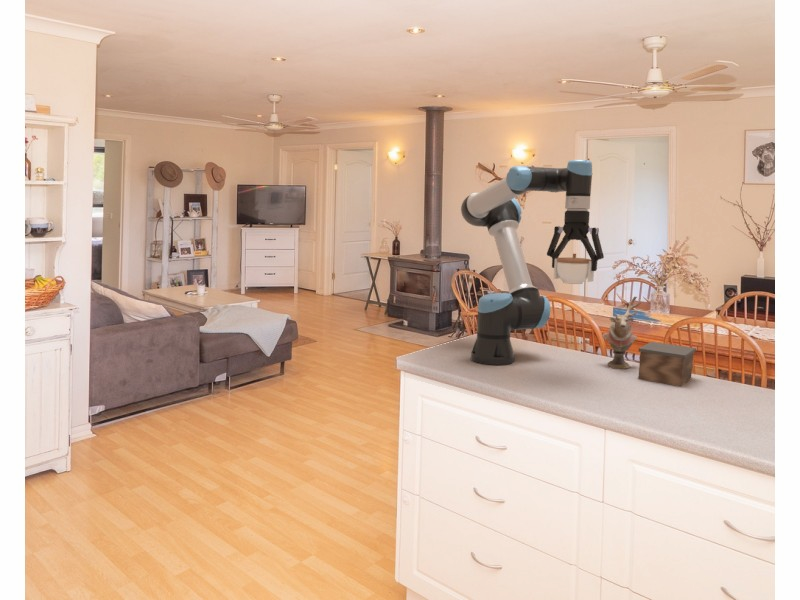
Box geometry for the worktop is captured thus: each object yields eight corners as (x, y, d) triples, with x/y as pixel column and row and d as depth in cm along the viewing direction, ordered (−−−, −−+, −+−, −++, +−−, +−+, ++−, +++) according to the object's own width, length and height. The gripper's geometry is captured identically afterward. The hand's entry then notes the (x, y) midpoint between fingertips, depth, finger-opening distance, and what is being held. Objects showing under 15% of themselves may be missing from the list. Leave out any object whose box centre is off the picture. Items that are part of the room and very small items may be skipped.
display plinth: (636, 378, 204) (638, 348, 203) (649, 370, 215) (651, 341, 214) (682, 387, 196) (685, 355, 194) (693, 378, 207) (696, 348, 205)
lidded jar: (563, 280, 210) (564, 252, 208) (595, 283, 204) (597, 254, 202) (550, 282, 201) (551, 253, 200) (583, 285, 195) (584, 255, 194)
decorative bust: (618, 370, 210) (624, 294, 210) (596, 365, 222) (601, 294, 222) (646, 371, 213) (651, 297, 213) (622, 367, 225) (627, 297, 225)
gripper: (538, 209, 204) (534, 277, 206) (609, 210, 189) (604, 283, 192) (548, 209, 209) (545, 276, 212) (618, 210, 195) (613, 282, 198)
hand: (573, 279), depth 202 cm, fingers closed on lidded jar, 11 cm apart
